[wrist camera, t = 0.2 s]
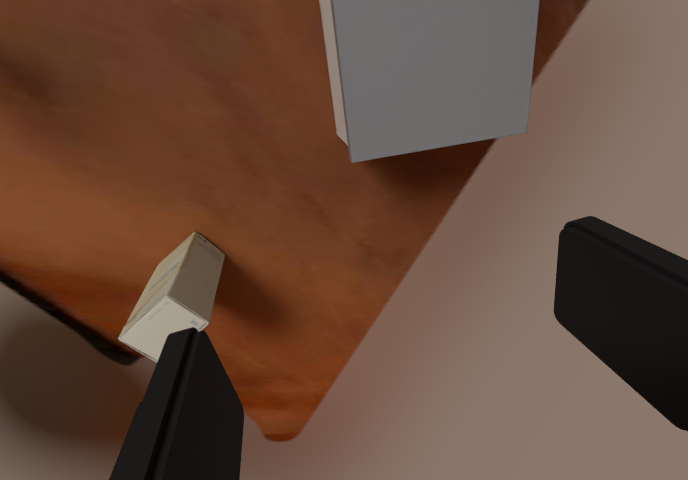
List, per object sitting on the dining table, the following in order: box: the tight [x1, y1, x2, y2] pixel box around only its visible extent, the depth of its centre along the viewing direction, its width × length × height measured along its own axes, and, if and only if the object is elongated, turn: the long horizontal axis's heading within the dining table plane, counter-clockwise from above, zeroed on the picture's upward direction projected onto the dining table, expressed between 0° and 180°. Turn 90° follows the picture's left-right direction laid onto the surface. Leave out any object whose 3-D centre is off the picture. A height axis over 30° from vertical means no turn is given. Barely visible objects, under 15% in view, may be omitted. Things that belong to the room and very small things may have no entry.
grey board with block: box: [330, 0, 539, 163], centre depth 24 cm, size 19×15×7 cm
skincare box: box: [118, 232, 225, 362], centre depth 35 cm, size 6×4×12 cm
